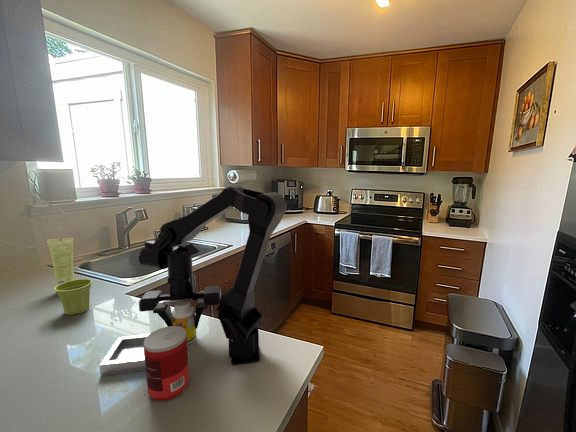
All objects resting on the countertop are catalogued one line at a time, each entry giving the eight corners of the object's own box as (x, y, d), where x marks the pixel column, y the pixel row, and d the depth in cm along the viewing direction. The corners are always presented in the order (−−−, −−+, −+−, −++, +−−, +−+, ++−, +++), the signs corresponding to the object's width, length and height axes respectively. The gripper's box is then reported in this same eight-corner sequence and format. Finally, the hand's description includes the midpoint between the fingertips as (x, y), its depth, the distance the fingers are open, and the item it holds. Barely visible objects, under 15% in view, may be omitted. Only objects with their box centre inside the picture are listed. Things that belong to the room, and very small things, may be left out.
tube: (68, 286, 107) (61, 236, 104) (80, 287, 106) (73, 236, 103) (53, 292, 101) (46, 240, 98) (65, 293, 100) (58, 240, 97)
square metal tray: (166, 341, 72) (166, 332, 71) (155, 369, 62) (155, 358, 61) (119, 346, 70) (118, 337, 69) (100, 376, 60) (99, 365, 59)
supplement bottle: (168, 342, 71) (165, 304, 70) (186, 331, 76) (184, 296, 75) (183, 349, 69) (181, 310, 67) (201, 337, 73) (199, 300, 72)
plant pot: (75, 319, 83) (72, 291, 81) (49, 316, 85) (45, 289, 83) (102, 305, 92) (99, 279, 90) (78, 302, 94) (75, 277, 92)
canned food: (194, 372, 61) (191, 325, 59) (181, 402, 53) (178, 348, 51) (158, 373, 61) (154, 325, 59) (140, 403, 53) (135, 349, 51)
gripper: (220, 258, 79) (223, 310, 81) (149, 263, 76) (154, 317, 78) (218, 272, 68) (221, 331, 71) (135, 278, 65) (141, 340, 67)
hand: (184, 329), depth 72 cm, fingers closed on supplement bottle, 6 cm apart
